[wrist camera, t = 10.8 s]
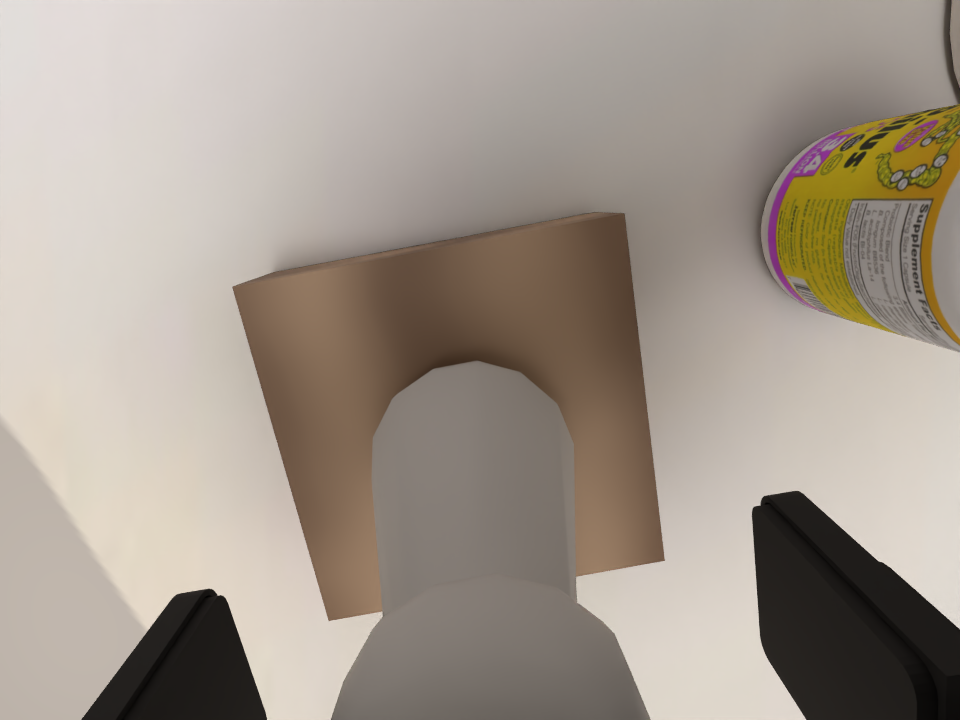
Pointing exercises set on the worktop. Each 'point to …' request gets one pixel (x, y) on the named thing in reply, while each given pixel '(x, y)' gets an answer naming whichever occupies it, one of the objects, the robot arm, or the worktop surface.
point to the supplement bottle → (874, 226)
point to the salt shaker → (480, 563)
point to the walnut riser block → (449, 341)
